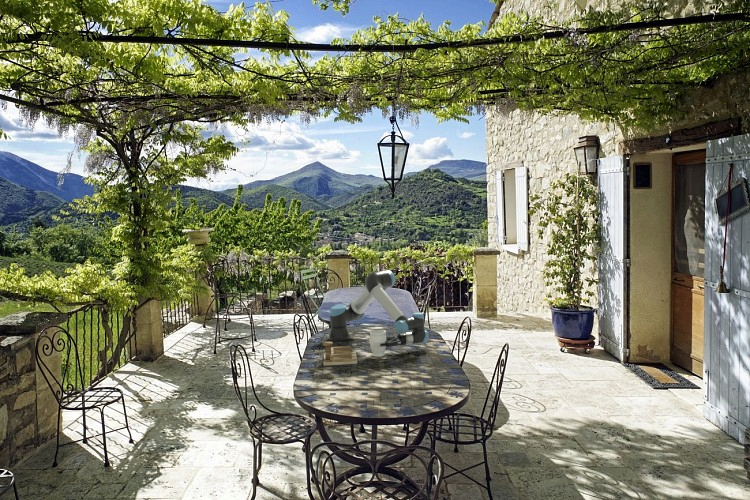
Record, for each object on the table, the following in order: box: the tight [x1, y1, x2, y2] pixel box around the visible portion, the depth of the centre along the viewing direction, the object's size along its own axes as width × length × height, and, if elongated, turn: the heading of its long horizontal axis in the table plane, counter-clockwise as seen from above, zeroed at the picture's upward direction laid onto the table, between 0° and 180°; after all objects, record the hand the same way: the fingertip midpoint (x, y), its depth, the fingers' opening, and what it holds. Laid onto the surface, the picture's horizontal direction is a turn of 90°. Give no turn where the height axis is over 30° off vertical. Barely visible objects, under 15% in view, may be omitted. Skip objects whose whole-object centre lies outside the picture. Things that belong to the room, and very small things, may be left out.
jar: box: [369, 329, 387, 358], centre depth 330 cm, size 11×10×15 cm
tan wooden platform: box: [322, 341, 358, 367], centre depth 324 cm, size 22×20×12 cm
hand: (371, 343), depth 328 cm, fingers closed on jar, 10 cm apart
